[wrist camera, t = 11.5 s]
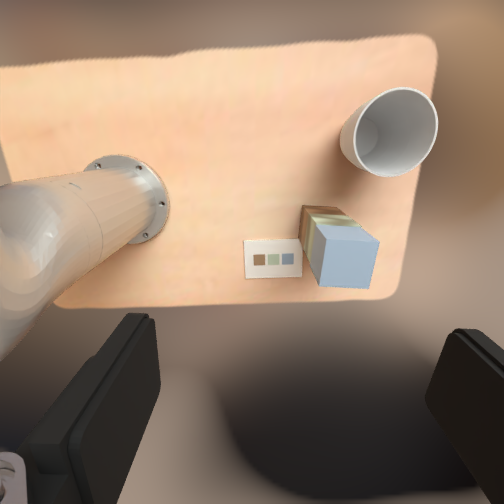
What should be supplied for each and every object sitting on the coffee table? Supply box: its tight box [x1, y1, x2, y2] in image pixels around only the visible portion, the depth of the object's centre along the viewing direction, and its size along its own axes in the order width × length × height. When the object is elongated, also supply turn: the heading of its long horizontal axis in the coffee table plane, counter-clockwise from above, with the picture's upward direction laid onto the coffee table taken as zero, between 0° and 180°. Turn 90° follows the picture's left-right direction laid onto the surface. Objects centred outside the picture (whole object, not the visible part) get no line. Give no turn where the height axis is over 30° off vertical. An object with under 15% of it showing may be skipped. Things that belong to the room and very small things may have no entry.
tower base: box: [298, 205, 362, 262], centre depth 36 cm, size 5×5×10 cm
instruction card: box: [244, 239, 303, 279], centre depth 42 cm, size 9×6×1 cm
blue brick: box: [310, 225, 380, 289], centre depth 29 cm, size 5×5×5 cm
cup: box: [340, 87, 438, 177], centre depth 31 cm, size 8×8×10 cm
